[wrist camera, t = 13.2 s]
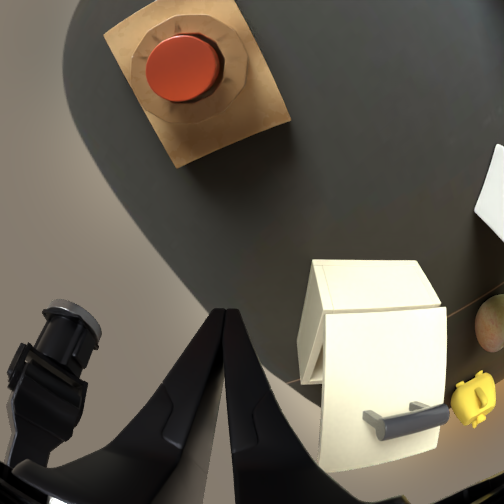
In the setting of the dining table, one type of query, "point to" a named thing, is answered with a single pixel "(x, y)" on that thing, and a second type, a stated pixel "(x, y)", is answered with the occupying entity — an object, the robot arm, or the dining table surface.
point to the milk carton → (493, 194)
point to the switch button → (182, 68)
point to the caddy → (355, 300)
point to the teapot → (474, 399)
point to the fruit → (491, 324)
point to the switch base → (223, 90)
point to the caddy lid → (381, 386)
